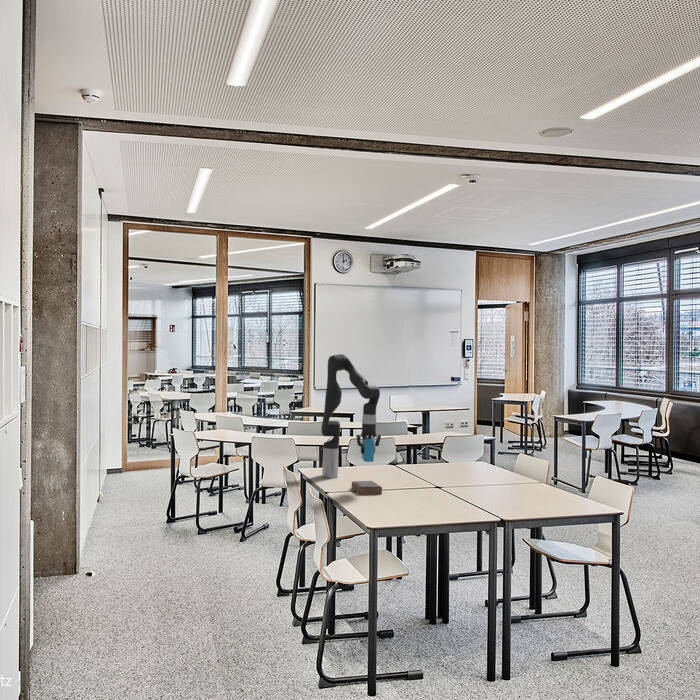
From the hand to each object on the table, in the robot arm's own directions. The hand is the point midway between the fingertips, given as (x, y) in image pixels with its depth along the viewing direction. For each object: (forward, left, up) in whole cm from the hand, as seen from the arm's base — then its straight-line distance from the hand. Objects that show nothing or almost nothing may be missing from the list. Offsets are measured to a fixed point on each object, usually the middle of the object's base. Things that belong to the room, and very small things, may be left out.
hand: (367, 453), depth 345 cm
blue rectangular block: (0, 0, -4) cm, 4 cm away
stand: (0, 0, -20) cm, 20 cm away
